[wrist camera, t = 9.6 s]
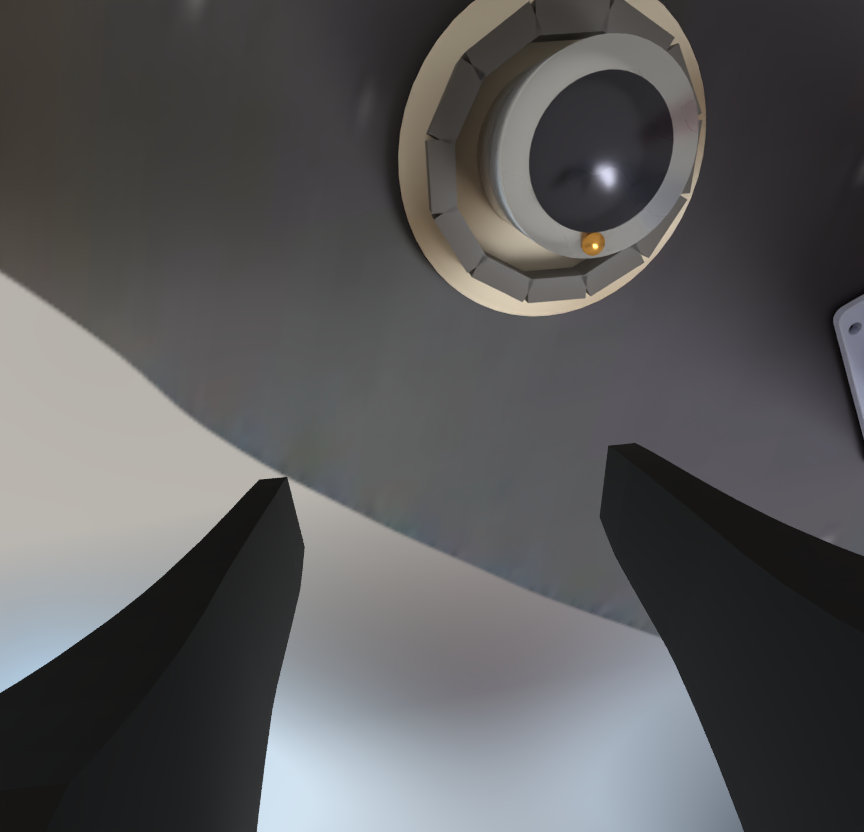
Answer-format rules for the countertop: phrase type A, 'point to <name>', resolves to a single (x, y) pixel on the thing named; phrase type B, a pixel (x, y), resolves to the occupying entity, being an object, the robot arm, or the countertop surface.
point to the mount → (458, 140)
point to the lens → (590, 145)
